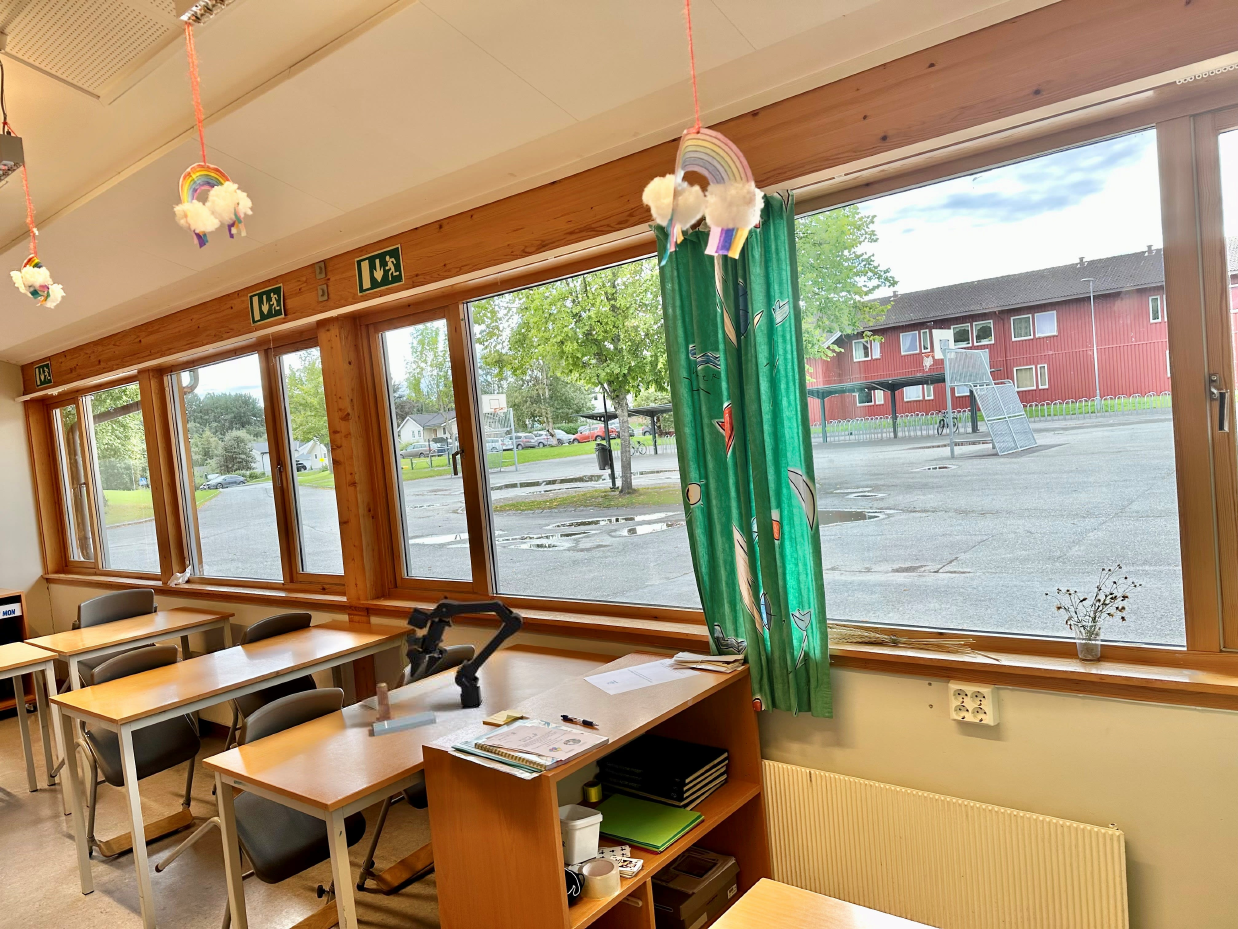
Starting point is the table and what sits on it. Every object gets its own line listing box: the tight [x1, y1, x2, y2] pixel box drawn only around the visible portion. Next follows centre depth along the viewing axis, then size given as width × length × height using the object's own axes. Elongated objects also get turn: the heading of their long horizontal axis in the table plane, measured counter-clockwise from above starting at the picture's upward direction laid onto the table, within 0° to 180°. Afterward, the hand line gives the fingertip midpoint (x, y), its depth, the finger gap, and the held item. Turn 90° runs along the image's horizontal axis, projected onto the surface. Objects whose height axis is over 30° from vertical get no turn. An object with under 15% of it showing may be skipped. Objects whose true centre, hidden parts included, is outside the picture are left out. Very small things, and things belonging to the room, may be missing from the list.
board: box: [372, 710, 437, 737], centre depth 260 cm, size 20×8×2 cm, turn 110°
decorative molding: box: [362, 671, 456, 710], centre depth 296 cm, size 34×5×10 cm
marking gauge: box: [375, 682, 396, 723], centre depth 265 cm, size 6×5×14 cm
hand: (418, 675), depth 273 cm, fingers open, 9 cm apart
